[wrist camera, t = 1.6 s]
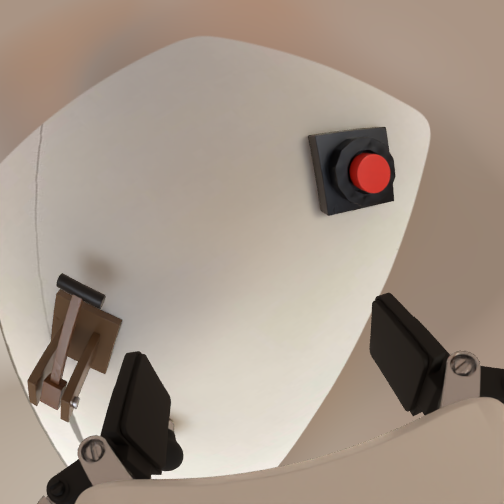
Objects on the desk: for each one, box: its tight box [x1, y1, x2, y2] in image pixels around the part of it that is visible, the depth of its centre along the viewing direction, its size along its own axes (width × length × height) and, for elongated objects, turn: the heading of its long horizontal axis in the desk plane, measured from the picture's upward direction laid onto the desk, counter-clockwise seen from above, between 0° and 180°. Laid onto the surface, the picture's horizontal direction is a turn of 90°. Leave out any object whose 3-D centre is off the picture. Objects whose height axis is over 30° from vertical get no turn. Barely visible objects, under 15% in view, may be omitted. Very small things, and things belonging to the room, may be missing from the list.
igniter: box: [308, 127, 395, 216], centre depth 26 cm, size 8×8×4 cm
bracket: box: [28, 289, 122, 422], centre depth 26 cm, size 10×9×13 cm
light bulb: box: [162, 420, 183, 471], centre depth 35 cm, size 6×6×10 cm
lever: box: [40, 273, 105, 410], centre depth 22 cm, size 14×5×2 cm, turn 151°
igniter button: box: [349, 153, 390, 193], centre depth 24 cm, size 4×4×2 cm
